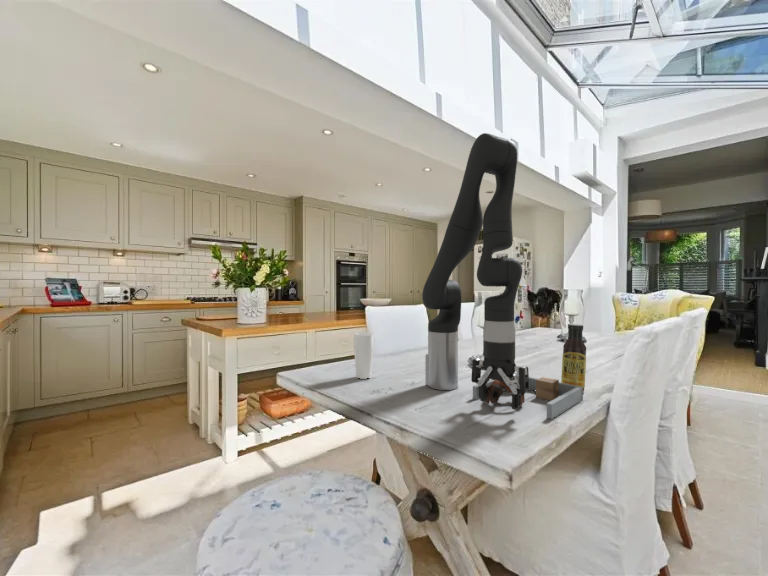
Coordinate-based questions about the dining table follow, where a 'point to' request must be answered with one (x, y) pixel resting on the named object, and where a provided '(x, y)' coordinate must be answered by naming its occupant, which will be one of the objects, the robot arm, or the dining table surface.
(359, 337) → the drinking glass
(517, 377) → the peg
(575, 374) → the sauce bottle
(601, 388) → the dining table surface
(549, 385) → the block
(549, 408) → the corral
